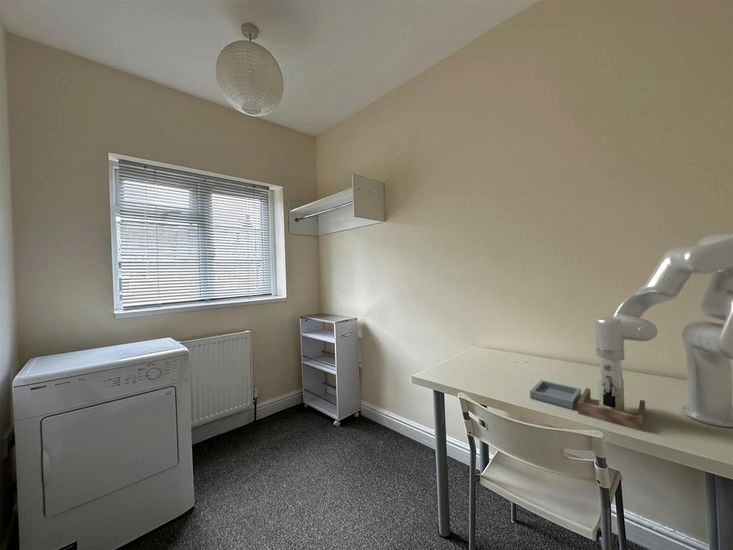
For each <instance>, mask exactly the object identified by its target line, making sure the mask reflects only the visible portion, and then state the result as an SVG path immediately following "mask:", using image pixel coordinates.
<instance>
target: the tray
mask: <svg viewBox="0 0 733 550" xmlns="http://www.w3.org/2000/svg"><path fill="white" fill-rule="evenodd" d="M529 396H530V397H529V398H532V399H531V400H534V399H535V400H534V401H537V402H541V401H542V403H545V404H550V405H553V406H556V407H561V408H564V409H568V410H570V411H571V410H572V411H573V410H575V407H577V405H578V401H579V399H580V398H581V396H582V388H578V387H574V386H569V385H565V384H560V383H557V382H552V381H547V380H543V379H540V380H539V382H537V383H536V384H535V385H534V386H533V387H532V389H531V390H529Z"/></svg>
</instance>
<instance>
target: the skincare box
mask: <svg viewBox="0 0 733 550" xmlns="http://www.w3.org/2000/svg"><path fill="white" fill-rule="evenodd" d="M597 379H598V399H599V400H598V402H599V403H598V406H600V407H604V408H608V409H612V410H616V411H620V412H624V413H626V412H625V389H624V388H625V385H624V383H625V382H624V378H623V379H622V386H621V388H620V389H619V390H617V389H615V391H614V396H615V401H616V407H615V408H613V407H609V406H605V405H603V390H604V387H603V386H602V384H601V376H598V378H597ZM603 384H604V383H603ZM610 386H613V385H612V382H611V383H610ZM610 390H611V391H612V389H610Z"/></svg>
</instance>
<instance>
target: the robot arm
mask: <svg viewBox="0 0 733 550" xmlns="http://www.w3.org/2000/svg"><path fill="white" fill-rule="evenodd" d="M693 274H694V275H695V274H697V275H699V274H701V275H704V274H705V275H706V274H710V276H709V280H708V281H707V285H706V286H705V290H704V292H703V294H702V297H701V299H700V303H699V311H700V312H701V313H702V314H703V315H705V316H706V317H709V318H713V319H716V320H720V321H724V323H723V324H721V323H717V322H713V321H708V320H707V321H706V320H696V321H692V322H690V323H688V324H686V325H685V326H684V328H683V330H682V333H681V337H682V342H683V346H684V349H685V353H686V378H687V379H686V381H687V382H686V384H687V385H686V388H687V390H686V391H687V392H686V393H687V404H684V405H681V407H680V411H681V413H683V414H684V415H686V416H687V417H689V418H691V419H693V420H696V421H699V422H702V423H704V424H709V425H713V426H717V427H724V428H733V365H732V362H731V360H733V233H721V234H714V235H713V234H712V235H708V236H706V237H703V238H701V239H700V240H699V241H698V242H697V244H696V245H695V246H681V247H674V248H672V249H668V250H667V251H666V252H665V253H664V254H663V255H662V257H661V258H660V259H659V262H657V264H656V265H655V268H654V269H653V270H652V272H651V274H650V275H649V277H648V278H647V279H646V282H644V284H643V285H642V287H640V288H639V289H637V290H635V292H633V293H632V294H630V295H629V296H628V297H627V298H625V300H623V301H622V303H620V305H619V306H618V308H617V309H616V311H615V312H614V315H613V317H612V316H611V317H610V316H609V317H608V316H602V317H598V318H596V319H595V346H596V347H595V350H596V351H595V353H596V357H597V358H600V377H601V384H602V386H603V387H604V390H603V405H605V406H609V407H613V408H615V407H616V401H615V396H614V391H615V389H617V390H619V389H620V388H621V386H622V379H623V380H624V378H623V365H622V361H625V340H627V341H628V340H629V341H636V342H648V341H651V340H653V339H654V338H655V339H656V337H657V336H658V333H659V332H658V328H657V326H656V324H654V323H653V322H652V321H650V320H647V319H646V318H645V319H644V318H642V316H643V315H644V313H645V312H647V311H648V310H649V309H650V308H652V307H653V306H656V305H660V304H663V303H666V302H669V301H671V300H674V299H676V298H677V297H678V295H679V294H680V292H681V291H682V290H683V288H684V287H685V285H686V284H687V282H688V280H689V279H690V278H691V277H692V275H693ZM611 382H612V385H613V386H610V383H611ZM603 383H604V384H603ZM610 389H612V391H611V390H610Z"/></svg>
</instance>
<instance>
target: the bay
mask: <svg viewBox="0 0 733 550" xmlns="http://www.w3.org/2000/svg"><path fill="white" fill-rule="evenodd" d="M590 401H591V388H588V387H586V388H585V390H584V391H583V393H581V398H580V399H579V401H578V403H577V414H578V415H583V416H586V417H590V418H593V419H597V420H599V421H600V420H601V421H604V422H607V423H612V424H614V425H619V426H621V427H626V428H630V429H633V430H635V431H636V430H637V431H640V432H643V429H644V424H645V423H644V422H645V417H646V400H643V399H639V405H638V409H637V413H636V414H637V415H635V414H631V413H627V412H625V413H624V412H620V411H616V410H612V409H608V408H604V407H600V406H599V405H595V404H591V403H590Z"/></svg>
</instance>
